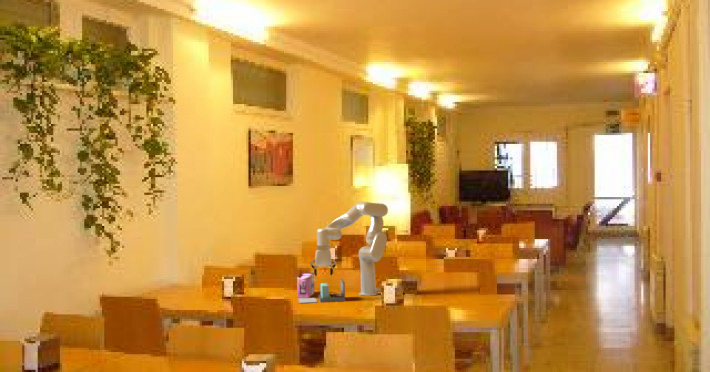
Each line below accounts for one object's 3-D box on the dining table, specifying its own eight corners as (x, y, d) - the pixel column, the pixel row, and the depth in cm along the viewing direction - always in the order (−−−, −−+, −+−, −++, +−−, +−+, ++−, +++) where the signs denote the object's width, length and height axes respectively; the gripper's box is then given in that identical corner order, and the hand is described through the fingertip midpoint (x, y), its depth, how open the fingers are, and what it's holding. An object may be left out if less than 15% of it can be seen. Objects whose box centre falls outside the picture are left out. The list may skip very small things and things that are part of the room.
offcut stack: (339, 298, 522) (339, 292, 521) (343, 301, 510) (343, 295, 510) (333, 298, 521) (332, 293, 521) (337, 301, 509) (337, 296, 509)
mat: (315, 298, 521) (315, 297, 521) (317, 302, 505) (317, 301, 505) (297, 299, 520) (297, 298, 520) (299, 303, 504) (299, 302, 504)
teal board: (327, 298, 520) (326, 283, 520) (329, 301, 508) (328, 285, 508) (320, 299, 520) (320, 283, 520) (322, 302, 508) (322, 286, 508)
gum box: (308, 298, 524) (308, 277, 523) (296, 298, 525) (296, 277, 524) (314, 292, 548) (314, 272, 547) (303, 292, 548) (302, 272, 548)
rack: (342, 297, 523) (341, 278, 523) (345, 301, 508) (344, 282, 508) (318, 298, 521) (317, 279, 521) (320, 302, 506) (319, 283, 506)
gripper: (336, 247, 518) (336, 274, 518) (309, 248, 516) (309, 275, 516) (337, 248, 511) (337, 275, 511) (309, 249, 508) (310, 276, 509)
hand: (323, 275), depth 513 cm, fingers open, 9 cm apart
